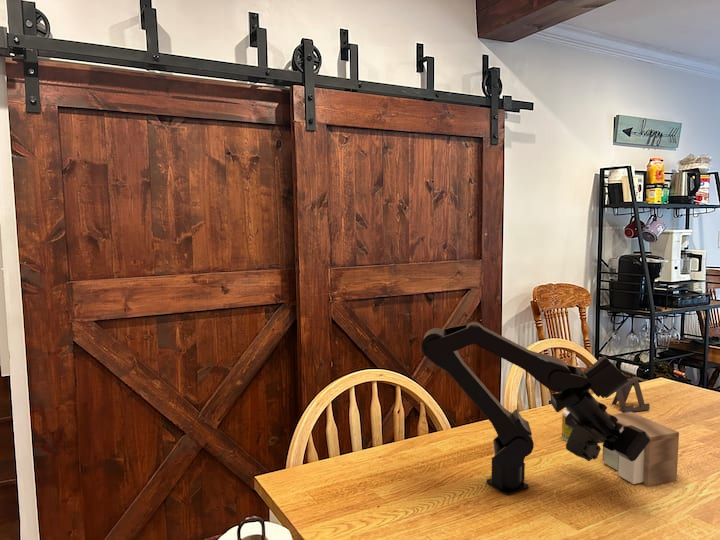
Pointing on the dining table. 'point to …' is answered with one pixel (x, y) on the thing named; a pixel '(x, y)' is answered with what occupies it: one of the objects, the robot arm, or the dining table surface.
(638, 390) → the portable electronic device stand
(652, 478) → the walnut housing
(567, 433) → the supplement bottle
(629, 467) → the white plug
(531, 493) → the dining table surface
